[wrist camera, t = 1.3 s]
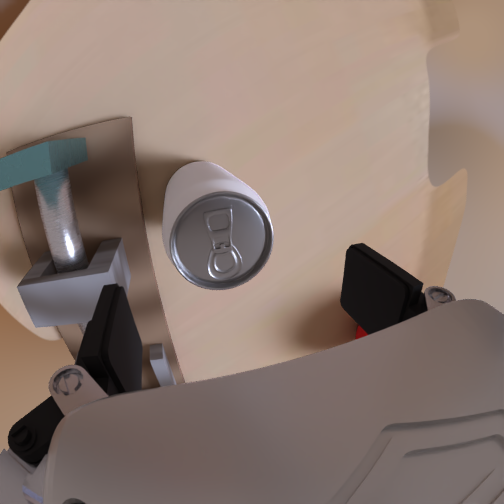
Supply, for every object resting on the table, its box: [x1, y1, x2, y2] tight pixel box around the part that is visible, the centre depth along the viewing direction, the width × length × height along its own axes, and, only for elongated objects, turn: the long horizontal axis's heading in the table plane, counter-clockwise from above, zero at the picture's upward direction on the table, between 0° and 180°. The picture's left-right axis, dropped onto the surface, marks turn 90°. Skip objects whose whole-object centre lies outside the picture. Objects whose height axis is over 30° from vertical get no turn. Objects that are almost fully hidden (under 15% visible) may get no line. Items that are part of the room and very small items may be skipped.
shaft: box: [0, 137, 89, 336], centre depth 18 cm, size 17×5×8 cm, turn 2°
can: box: [162, 161, 274, 290], centre depth 20 cm, size 6×6×12 cm
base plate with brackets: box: [7, 117, 185, 390], centre depth 23 cm, size 35×13×8 cm, turn 2°
